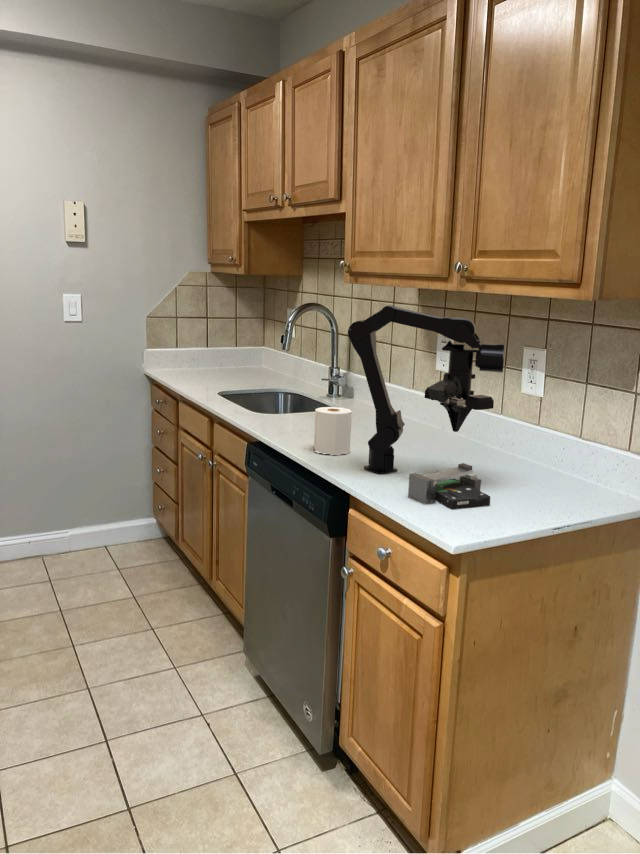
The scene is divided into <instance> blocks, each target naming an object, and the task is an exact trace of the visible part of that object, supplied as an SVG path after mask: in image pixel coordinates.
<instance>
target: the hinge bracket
mask: <svg viewBox="0 0 640 854" xmlns="http://www.w3.org/2000/svg"><path fill="white" fill-rule="evenodd" d="M437 485H438V482H437V480H433V479H430V478H428V477H425V476H423V475H422V474H420V473H416V472H414V473H409V476H408V492H407V497H408V498H410V499H412V500H414V501H417V502H419V503H422V504H424V505H433V504H436V502H437V501H436V489H437Z"/></svg>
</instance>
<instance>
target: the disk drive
mask: <svg viewBox="0 0 640 854" xmlns="http://www.w3.org/2000/svg"><path fill="white" fill-rule="evenodd" d="M436 502H438V503H439V504H441V505H443V506H444V507H446V508H447V509H449V510H451V511H453V510H459V509H460V510H462V509H472V508H480V507H481V508H482V507H490V506H491V496H490V495H489V494H487V493H485V492H483V491H481V490H480V491H479V490H477V489H475V488H473V487H471V486H469V485H467V484H465V483H463V482H461V481H460V479H458V478H453V479H450V480H446V481H442V482H438V485H437V489H436Z"/></svg>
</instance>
